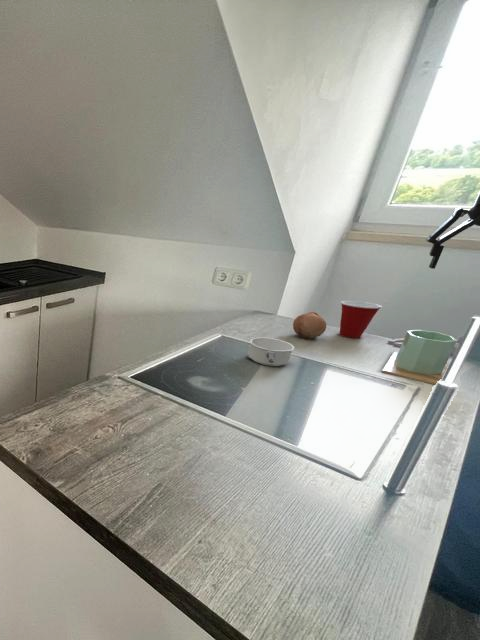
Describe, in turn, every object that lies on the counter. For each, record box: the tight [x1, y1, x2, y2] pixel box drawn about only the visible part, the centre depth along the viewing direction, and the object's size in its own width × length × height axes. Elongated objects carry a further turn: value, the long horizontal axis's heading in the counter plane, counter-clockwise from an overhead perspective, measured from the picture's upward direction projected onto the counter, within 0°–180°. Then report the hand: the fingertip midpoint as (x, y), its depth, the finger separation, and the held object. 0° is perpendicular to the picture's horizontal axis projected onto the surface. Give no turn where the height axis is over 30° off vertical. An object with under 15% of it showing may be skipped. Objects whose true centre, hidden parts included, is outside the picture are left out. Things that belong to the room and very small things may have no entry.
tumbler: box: [395, 329, 458, 375], centre depth 111 cm, size 10×9×9 cm
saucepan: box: [247, 337, 295, 367], centre depth 117 cm, size 12×20×6 cm, turn 147°
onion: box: [292, 311, 327, 340], centre depth 137 cm, size 10×9×10 cm
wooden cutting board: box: [381, 351, 450, 386], centre depth 113 cm, size 20×12×1 cm, turn 130°
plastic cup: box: [339, 300, 383, 339], centre depth 136 cm, size 11×11×12 cm
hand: (465, 269), depth 111 cm, fingers open, 13 cm apart
